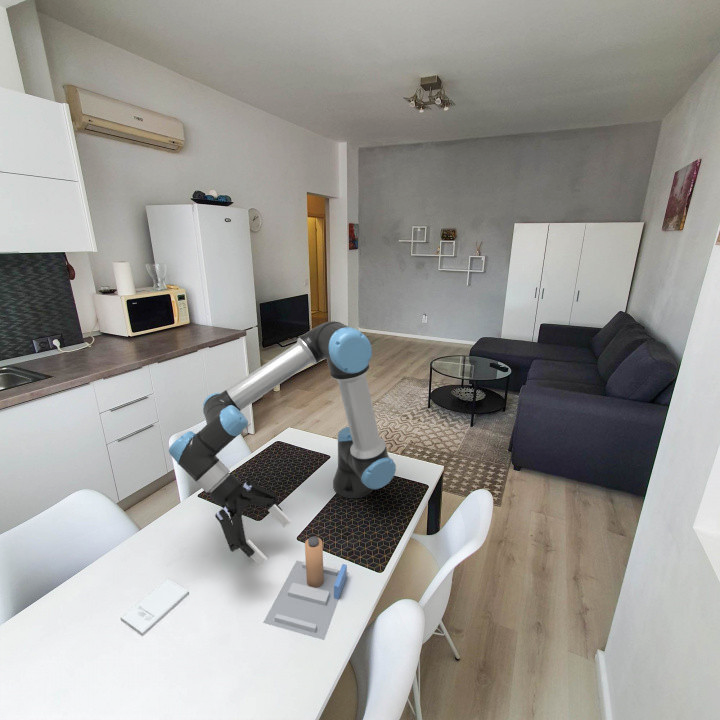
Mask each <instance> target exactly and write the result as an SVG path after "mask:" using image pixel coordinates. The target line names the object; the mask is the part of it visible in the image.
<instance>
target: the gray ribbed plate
mask: <svg viewBox="0 0 720 720" xmlns="http://www.w3.org/2000/svg"><path fill="white" fill-rule="evenodd" d="M292 566H293V567H292V568H291V570H290V572H289V574H288V575H287V577H286V579H285V582H283V585H282V587H281V589H280V590H279V591H278V594H277V596H276V598H275V599H274V602H273V604H272V606H271V607H270V609H269V611H268V613H267V614H266V616H265V618H264V620H263V624H266V625H270V626H273V627H277V628H281V629H284V630H288V631H291V632H294V633H298V634H301V635H306V636H308V637H312V638H315V639H319V640H323V641H324V640H325V639H326V636H327V633H328V629H329V628H330V625H331V622H332V619H333V616H334V615H335V610H336V608H337V605H338V603H339V600H340V597H341V594H342V591H343V588H344V586H345V584H346V581H347V577H348V575H349V571H348V569H347V568H348V565H347V564H345V563H342V564H341V566H340V568H339V569H338V568H332V567H328V566H324V565H323V575H324V582H323V584H322V585H321V586H320V587H318V588H313V587H309V586H308V585H307V577H306V561H301V560H296V561H295V563H294V565H292Z"/></svg>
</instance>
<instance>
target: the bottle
mask: <svg viewBox="0 0 720 720" xmlns="http://www.w3.org/2000/svg"><path fill="white" fill-rule="evenodd" d="M323 551H324V550H323V540H322V539H321V538H320V537H318V536H315V535H314V536H311V537H309V538H307V539H306V540H305V542H304V554H305V562H306V577H307V585H308V586H309V587H313V588H318V587H320V586H321V585H322V584H323V582H324V575H323V566H324V555H323V554H324V553H323Z"/></svg>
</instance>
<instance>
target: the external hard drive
mask: <svg viewBox="0 0 720 720" xmlns="http://www.w3.org/2000/svg"><path fill="white" fill-rule="evenodd" d="M189 595H190V592H189V590H188V589H187V588H185V587H183V586H182V585H180V584H178V583H176V582H175V581H173V580H171V579H170V578H166V579H165V580H164V581H163V582H161V583H160V584H159V585H158V586H157V587H155V589H153V590H152V591H150V592H149V593H148V594H147V595H146V596H144V597H143V598H142V599H141V600H140V601H138V602H137V603H136V604H135V605H134V606H133V607H132V608H130V609H129V610H127V612H125V613H124V614H123V615H121V617H120V620H121V622H123V623H125V625H126V626H128V627H131V628H132V629H133V630H134V631H135V632H137V633H138V634H139V635H141V636H142V637H144V636H145V635H146V634H147V633H148V632H149V631H150V630H151V629H153V627H155V626H156V625H157V624H158V623H160V621H161V620H162V619H164V617H165V616H166V615H168V614H169V613H170V612H171V611H172V610H173V609H174V608H175V607H176V606H177V605H179V604H180V603H181V602H182V601H183V600H184V599H185V598H186V597H187V596H189Z"/></svg>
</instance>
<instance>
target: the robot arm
mask: <svg viewBox="0 0 720 720" xmlns="http://www.w3.org/2000/svg"><path fill="white" fill-rule="evenodd" d="M372 347H373V346H372V344H371V342H370V340H369V338H368V337H367V336H366V335H365V334H364V333H362V332H361V331H360V330H359V329H356V328H354V327H351V326H348V325H346V324H344V323H342V322H339V321H335V320H333V321H326V322H323V323H321V324H319V325H317V326H315V327H314V328H312V329H310V330H309V331H306V333H304V334H302V335H301V336H300V337H297V341H296V343H295V344H292V345H291V346H290V347H289V348H287V349H286V350H284V351H283V352H281V353H280V354H278V355H277V356H275V357H274V358H272V359H271V360H269V361H268V362H266V363H265V364H263V365H261V366H259V368H257V369H256V370H254V371H253V372H251V373H250V374H248V375H247V376H245V377H243V378H242V379H240V380H239V381H238V382H236V383H234V384H233V385H231V386H230V387H228V388H227V389H225V390H223V391H222V392H215V393H211V394H210V395H207V397H206V398H205V399H204V401H203V407H202V408H203V409H202V411H203V415H204V417H205V422H206V425H205V426H204V427H202V429H200V430H199V431H198V432H196V433H195V432H193V431H191V430H190V431H187V432H185V433H183V434H182V435H180V437H178V438H177V439H176V440H175V441H174V442H173V443H171V445H170V446H169V449H168V454H169V455H170V456H171V457H172V459H174V461H176V463H177V465H179V466H180V467H181V468H182V469H183V470H184V471H185V472H186V473H187V475H189V476H190V477H191V478H192V479H193V480H194V481H195V482H196V483H197V484H198V486H199V487H200V488H202V490H203V491H204V492H205V493H209V497H210V498H211V500H212V501H213V502H215V503H216V504H217V505H219V506H221V507H222V508H221V509H220V510H219V511H217V512H216V513H215V514H214V516H215V519H216V520H217V521H218V522H219V524H220V527H221V529H222V532H223V535H224V538H225V540H226V542H227V545H228V548H229V550H230V552H232V553H233V552H235V551H237V550H240V551H242V552H243V553H244V554H245V555H246V557H248V558H250V557H251V559H253V560H254V561H255V562H256V563H257V565H258V566H260V565H262V564H263V563H265V562H266V561H267V560H268V557H267V556H266V555H265V554H264V553H263V552H262V551H261V549H259V548H258V547H257V546H256V545H255V544H254V543H253V542H252V540H250V539H246V535H245V528H244V522H243V517H242V516H243V513H244V511H245V510H246V508H247V507H248V506H249V505H251V506H259V507H264V508H268V509H267V511H268V512H269V514H271V515H272V516H273V517H274V518H275V519H276V520H277V521H278V523H279V524H280V525H282V527H283V528H285V527H286V526H288V525H289V524H290V523H291V522H292V520H291V519H290V518H289V517H288V516H287V515H286V513H284V511H283V508H281V507H280V505H279V504H277V502H278V499H277V494H276V493H275V492H273V491H270V490H269V489H265V488H264V487H262V486H259V485H257V484H255V483H254V482H253V481H252V480H250V479H248V480H247V481H246V482H244V483H243V484H242V485H241V480H239V479H238V478H237V476H235V474H233V473H230V472H231V470H230V469H229V468H228V467H227V466H226V465H225V464H224V463H223V462H222V460H220V459H219V458H218V457H217V455H218V454H219V453H220V452H221V451H223V449H224V448H225V447H227V446H228V445H229V444H230V443H231V442H232V441H233V440H234V439H236V438H237V437H239V436H240V435H241V434H242V432H243V431H244V430H245V429H246V428H247V427H248V426H249V425H248V424H249V421H248V419H247V417H246V416H245V415H244V413H243V412H242V410H244V409H245V408H247V407H248V406H249V405H251V404H253V403H254V402H256V401H257V400H258V399H260V398H261V397H263V396H264V395H266V394H267V393H269V392H270V391H272V390H273V389H275V388H276V387H277V386H279V385H280V384H282V383H283V382H285V381H286V380H288V379H290V378H291V377H293V376H294V375H295V374H297V373H298V372H301V370H303V369H305V368H306V367H307V366H308V365H310V364H314V365H315V364H318V363H319V362H321V361H323V360H326V361H327V366H328V370H329V373H330V377H331V378H332V379H333V380H335V381H336V382H337V385H338V389H339V392H340V396H341V400H342V403H343V408H344V411H345V416H346V420H347V424H348V426H346V427H343V428H342V429H341V430H339V432H338V434H337V468H336V472H335V475H334V477H333V480H332V488H333V490H334V492H335V493H336V494H338V496H341V497H343V498H347V499H359V498H364V497H367V496H368V495H370V494H371V493H372V492H373V491H374V490H379V489H381V488H384V487H385V486H387V485H388V484H389V483H390V482H391V481H392V479H393V478H394V477H395V475H396V470H397V466H396V463H395V462H394V459H392V458H391V457H390V456H389V454H388V449H387V445H386V440H384V438H383V437H380V435H379V429H378V426H377V425H378V424H377V421H376V415H375V410H374V406H373V401H372V396H371V392H370V389H369V384H368V379H367V373H368V372H369V370H370V360H372V356H373V348H372Z"/></svg>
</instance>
